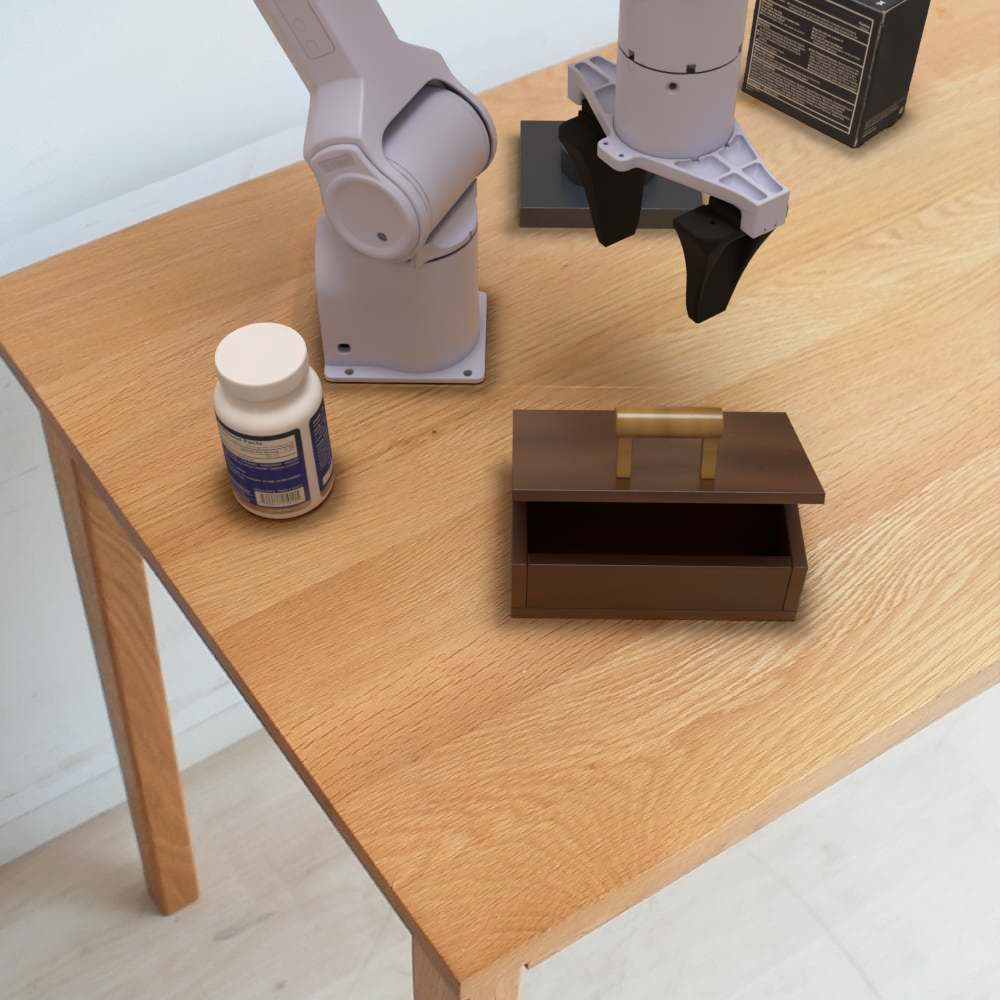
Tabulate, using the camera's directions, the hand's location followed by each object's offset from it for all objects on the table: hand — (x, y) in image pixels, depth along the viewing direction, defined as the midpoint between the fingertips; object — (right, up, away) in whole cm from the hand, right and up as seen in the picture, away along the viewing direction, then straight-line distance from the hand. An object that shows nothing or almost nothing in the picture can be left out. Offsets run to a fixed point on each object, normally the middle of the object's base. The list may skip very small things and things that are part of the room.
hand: (660, 274), depth 76 cm
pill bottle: (-21, -11, +4) cm, 24 cm away
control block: (-1, +10, +23) cm, 25 cm away
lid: (-1, -10, -4) cm, 10 cm away
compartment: (-1, -14, +1) cm, 14 cm away
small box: (+15, +17, +29) cm, 37 cm away
